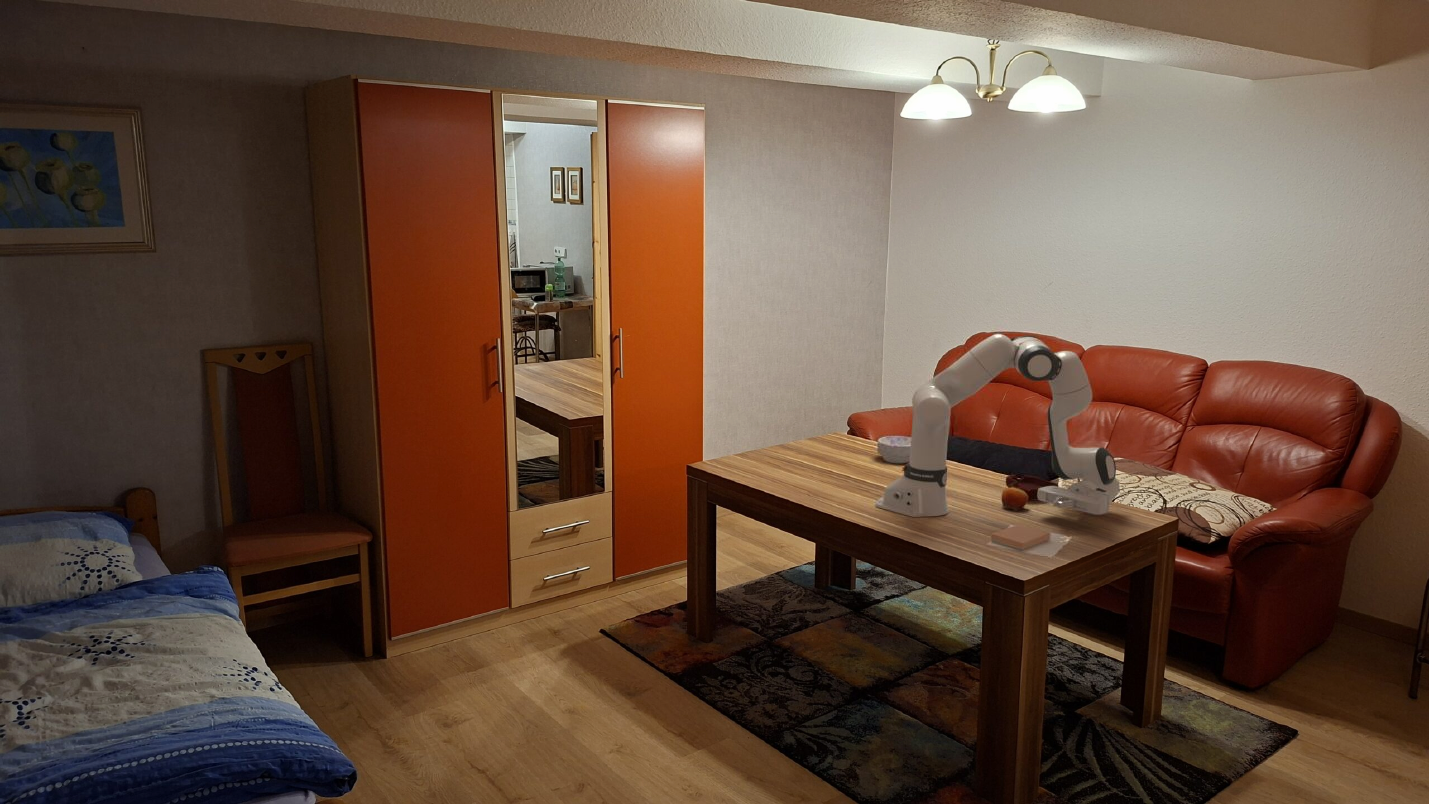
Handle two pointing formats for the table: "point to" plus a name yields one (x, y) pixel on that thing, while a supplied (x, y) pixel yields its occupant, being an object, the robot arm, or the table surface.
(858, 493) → the table surface
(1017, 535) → the tile
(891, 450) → the white patterned bowl
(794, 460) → the table surface
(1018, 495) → the fruit
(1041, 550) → the mat
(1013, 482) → the ashtray
